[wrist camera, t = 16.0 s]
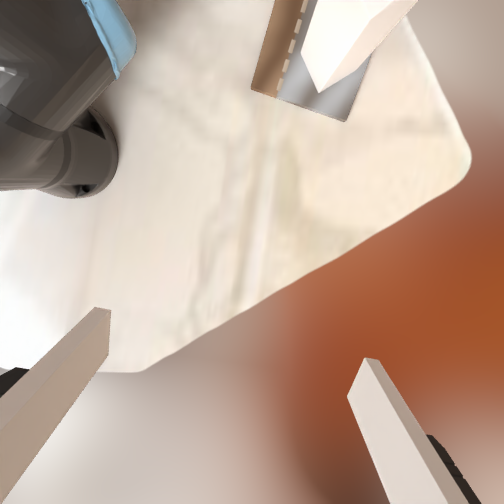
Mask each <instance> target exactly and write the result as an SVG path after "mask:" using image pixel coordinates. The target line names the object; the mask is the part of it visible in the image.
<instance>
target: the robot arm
mask: <svg viewBox="0 0 504 504" xmlns="http://www.w3.org/2000/svg"><path fill="white" fill-rule="evenodd" d="M136 46H137V41H136V36H135V33H134V31H133V28H132V27H131V25H130V23H129V21H128V19H127V18H126V16H125V14H124V13H123V11H122V9H121V8H120V6H119V5H118V3H117V1H116V0H0V191H7V190H26V189H37V190H40V191H43V192H46V193H48V194H51V195H54V196H57V197H62V198H70V199H75V198H85V197H90V196H93V195H95V194H97V193H99V192H101V191H102V190H103V189H105V188H106V187H107V186H108V184H109V183H110V182H111V180H112V178H113V176H114V174H115V172H116V168H117V163H118V150H117V145H116V141H115V138H114V135H113V133H112V131H111V129H110V127H109V125H108V124H107V122H106V121H105V120H104V118H103V117H102V116H101V115H100V114H99V113H98V112H97V111H96V110H94V109H93V108H92V107H90V105H91V104H92V103H93V102H94V100H95V99H96V98H97V97H98V96H99V95H100V94H101V93H102V92H103V91H104V90H105V89H106V88H107V86H108V85H109V84H110V83H111V82H112V81H113V80H114V79H115V80H117V79H118V78H119V76H120V72H121V71H122V70H123V68H124V67H125V66H126V65H127V64H128V62H129V61H130V60H131V59H132V57H133V56H134V54H135V52H136ZM110 318H111V310H108V309H102V308H97V307H94V308H93V309H92V310H91V311H90V312H89V313H88V314H87V315H86V316H85V317H84V318H83V319H82V320H81V321H80V322H79V323H78V324H77V325H76V326H75V327H74V328H73V329H72V330H71V331H70V332H69V333H67V334H66V335H65V336H64V337H63V338H62V339H61V340H60V341H59V342H58V343H57V344H56V345H55V346H54V347H53V348H52V349H51V350H50V351H49V352H48V353H47V354H46V355H45V356H44V357H43V358H41V359H40V360H39V361H38V362H37V363H36V364H35V365H34V366H33V367H32V368H31V369H30V370H29V369H23V368H17V367H15V368H14V369H12V370H10V371H8V372H6V373H4V374H2V375H1V376H0V504H2V502H3V500H4V499H5V498H6V497H7V495H8V494H9V492H10V491H11V490H12V488H13V487H14V485H15V484H16V483H17V481H18V480H19V479H20V477H21V476H22V474H23V473H24V472H25V470H26V469H27V467H28V466H29V465H30V463H31V462H32V460H33V459H34V458H35V456H36V455H37V454H38V452H39V451H40V449H41V448H42V447H43V445H44V444H45V442H46V441H47V440H48V438H49V437H50V435H51V434H52V433H53V431H54V430H55V428H56V427H57V425H58V424H59V423H60V422H61V420H62V418H63V417H64V416H65V415H66V413H67V412H68V410H69V409H70V408H71V406H72V405H73V403H74V402H75V401H76V399H77V398H78V397H79V395H80V394H81V392H82V391H83V390H84V388H85V387H86V385H87V384H88V382H89V381H90V380H91V378H92V377H93V376H94V374H95V373H96V371H97V370H98V369H99V367H100V366H101V365H102V363H103V362H104V360H105V359H106V358H107V356H108V352H109V335H110ZM347 398H348V400H349V402H350V405H351V407H352V410H353V412H354V415H355V417H356V420H357V422H358V425H359V427H360V430H361V432H362V435H363V437H364V440H365V442H366V445H367V447H368V449H369V452H370V454H371V457H372V459H373V462H374V464H375V467H376V469H377V472H378V474H379V477H380V479H381V482H382V484H383V487H384V489H385V491H386V494H387V497H388V499H389V501H390V504H481V502H480V501H479V499H478V498H477V496H476V495H475V493H474V492H473V490H472V489H471V487H470V486H469V484H468V483H467V481H466V480H465V479H463V475H462V474H461V472H460V471H459V469H458V468H457V467H456V466H455V465H454V462H453V460H452V459H451V457H450V456H449V454H448V453H447V451H446V450H445V448H444V447H442V445H441V444H440V443H439V442H438V441H437V440H436V439H435V438H434V437H433V436H432V435H426V434H425V433H424V432H423V430H422V428H421V427H420V425H419V424H418V422H417V421H416V419H415V417H414V416H413V414H412V412H411V411H410V409H409V408H408V406H407V405H406V403H405V402H404V400H403V398H402V397H401V395H400V394H399V392H398V390H397V389H396V387H395V386H394V384H393V382H392V381H391V379H390V378H389V376H388V374H387V373H386V371H385V370H384V368H383V367H382V365H381V363H380V362H379V360H375V359H370V358H364V360H363V363H362V365H361V367H360V369H359V371H358V374H357V376H356V378H355V380H354V382H353V385H352V387H351V389H350V391H349V394H348V396H347Z"/></svg>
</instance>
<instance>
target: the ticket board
mask: <svg viewBox="0 0 504 504" xmlns="http://www.w3.org/2000/svg"><path fill="white" fill-rule="evenodd" d="M317 1H318V0H275V3H274V7H273V10H272V14H271V17H270V21H269V24H268V28H267V31H266V35H265V38H264V42H263V46H262V49H261V53H260V56H259V60H258V63H257V67H256V70H255V74H254V77H253V81H252V84H251V89H252V90H254V91H257V92H260V93H263V94H266V95H269V96H271V97H274V98H277V99H280V100H283V101H286V102H288V103H291V104H294V105H297V106H300V107H303V108H305V109H308V110H311V111H314V112H317V113H320V114H322V115H325V116H328V117H331V118H334V119H337V120H339V121H342V122H345V121H346V120H347V117H348V115H349V112H350V109H351V107H352V104H353V101H354V99H355V96H356V93H357V91H358V88H359V86H360V83H361V80H362V78H363V75H364V72H365V70H366V67H367V64H368V62H369V59H370V57H371V54H372V53H371V54H370V55H369V56H368V57H367V58H366V60H365V61H364V62H363V63H362V64H361V65H360V66H359V67H358V69H357V70H356V71H354V72H353V73H351V74H349V75H348V76H346V77H344V78H343V79H341V80H339V81H338V82H336V83H335V84H333V85H331V86H330V87H328V88H326V89H325V90H323V91H322V92H320V93H318V91H317V89H316V87H315V84H314V82H313V80H312V78H311V76H310V73H309V71H308V69H307V67H306V64H305V62H304V60H303V58H302V55H301V49H302V46H303V43H304V40H305V37H306V34H307V31H308V28H309V25H310V22H311V19H312V16H313V13H314V10H315V7H316V4H317Z"/></svg>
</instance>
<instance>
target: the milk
mask: <svg viewBox="0 0 504 504" xmlns="http://www.w3.org/2000/svg"><path fill="white" fill-rule="evenodd" d="M417 1H418V0H318V1H317V4H316V7H315V10H314V13H313V16H312V19H311V22H310V25H309V28H308V31H307V34H306V37H305V40H304V43H303V46H302V49H301V55H302V58H303V60H304V62H305V64H306V67H307V69H308V71H309V73H310V76H311V78H312V80H313V82H314V84H315V87H316V89H317V91H318V93H320V92H322V91H323V90H325V89H326V88H328V87H330V86H331V85H333V84H335V83H336V82H338V81H339V80H341V79H343V78H344V77H346V76H348V75H349V74H351V73H353V72H354V71H356V70H357V69H358V67H359V66H360V65H361V64H362V63H363V62H364V61H365V60H366V58H367V57H368V56H369V55H370V54H371V53H372V52H373V51H374V50H375V48H376V47H377V46H378V45H379V44H380V43H381V42H382V41H383V39H384V38H385V37H386V36H387V35H388V34H389V33H390V32H391V31H392V29H393V28H394V27H395V26H396V25H397V24H398V23H399V22H400V20H401V19H402V18H403V17H404V16H405V15H406V14H407V13H408V11H409V10H410V9H411V8H412V7H413V6H414V5H415V4H416V2H417Z"/></svg>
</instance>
